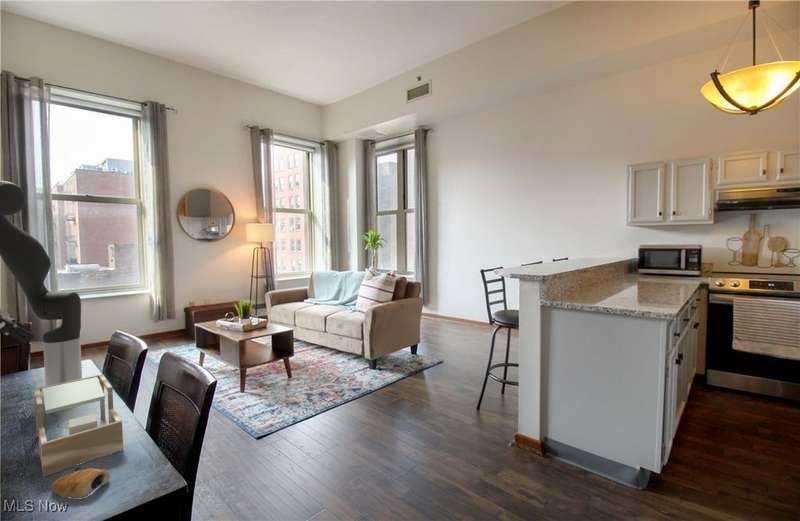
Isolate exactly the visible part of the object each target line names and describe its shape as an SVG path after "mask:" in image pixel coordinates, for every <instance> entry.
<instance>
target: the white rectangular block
mask: <svg viewBox="0 0 800 521" xmlns="http://www.w3.org/2000/svg"><path fill="white" fill-rule="evenodd" d="M98 422H99V421H98V414H97V413H96V412H95V413H93V414H89V415H85V416H80V417H75V418H72V419H69V420H68V435H72V434H75V433H79V432H82V431H85V430H89V429H92V428H96V427H99V425H98V424H99V423H98Z"/></svg>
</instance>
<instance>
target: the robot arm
mask: <svg viewBox="0 0 800 521" xmlns="http://www.w3.org/2000/svg"><path fill="white" fill-rule="evenodd" d="M25 205H26V194H25V192H24V190H23V189H22V188H21V187H20V186H19V185H18V184H15V183H13V182H10V181H6V180H0V259H2V261H3V263H4V264H5V265H6V267H7V269H8V270H9V271H10V272H11V273H12V275H13V277H14V278H15V279H16V281H17V282H18V284H19V285H20V287H21V289H22V290H23V293H24V295H25V296H26V299H27V301H28V303H29V305H30V307H31V310H32V311H33V313H34V315H35V316H36V317H37V318H38V319H41V320H42V321H45V320H46V321H54V320H55V321H58V320H61V324H60V326H58V327H56V328H53V329H51V330H48V331H46V332H44V333H43V334H42V346H43V347H42V349H43V363H44V365H43V367H44V383H45V386H49V385H53V384H58V383H63V382H68V381H73V380H77V379H82V378H83V371H82V370H83V369H82V367H83V366H82V350H81V349H82V347H81V328H82V301H81V296H80V295H79V293H78V292H76V291H55V292H54V291H53V292H52V291H49V290H48V289H47V287H46V285H45V280H46V278H47V276H48V274H49V271H50V269H51V264H52V263H51V262H52V261H51V259H50V256H49V255H48V253H47V252H46V250H45V248H44V247H43V245H42V243H41V242H40V241H39V240H37V239H36V238H35V237H34V236H32V235H31V234H29V233H28V232H26V231H24V230H23V229H22V228H20V227H19V226H17V225H16V224H15V223H13V222H12V221H11V220H9V218H8V217H7V216H12V215H16V214H17V213H19V212H20V211H22V210H23V208H24V207H25ZM0 335H6V336H10V337H12V338H14V339H15V340H17V341H19V342H20V343H23V344H27V343H29V342H30V341H31V340H32V339H33V338H34V337H35V336H34V334H33V333H32V329H31V328H30V327H28V326H27V325H25V324H23V323H22V322H19V321H17V319H16V318H15V317H14V316H13V315H11V314H10V313H9V312H7V311H5V310H4V309H2V308H1V307H0Z"/></svg>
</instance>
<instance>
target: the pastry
mask: <svg viewBox="0 0 800 521" xmlns="http://www.w3.org/2000/svg"><path fill="white" fill-rule="evenodd" d="M110 477H111V475H110V472H109V471H108V470H107V469H104V468H102V469H98V468H93V467H90V468H89V467H88V468H87V469H84V470H78V471H74V472H72V473H68V474H66V475H64V476H61V477H59V478H58V479H56V480H54V481H53V482H52V484H51V486H50V490H51V491H52V492H53V493H54V494H56V495H58V496H59V495H60V496H59V497H60V498H61V497H71V498H84V497H86V496H88V494H90V493H91V492H93V491H94V490H95V489H96V488H98V487H99V486H102V485H103V486H104V485H107V483H109V479H110ZM103 486H102V487H103Z"/></svg>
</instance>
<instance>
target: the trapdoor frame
mask: <svg viewBox="0 0 800 521" xmlns="http://www.w3.org/2000/svg"><path fill="white" fill-rule="evenodd" d="M94 377H98V380H99V382H100V385H101V388H102V390H103V393H104V394H105V390H106V392H107V406H108V407H107V408H108V410H107V411H108V423H107V424H103V425H100V426H99V425H98V427H96V428H92V429H89V430H85V431H82V432H79V433H75V434H72V435H69V434H68V435H65V436H62V437H61V436H60V437H58V438H55V439H51V440H47V435H46V430H45V422H44V421H45V420H44V419H45V418H44V401H43V397H42V394H41V392H42V388H47V387H52V386H57V385H61V384H66V383H71V382H75V381H80V380H85V379H90V378H94ZM33 391H34V407H35V408H34V410H35V425H36V427H35V429H36V437H37V438H38V442H39V446H38V447H39V458H40V464H41V465H40V466H41V470H42V471H41V472H42V477H43V478H45V477H48V476H51V475H54V474H56V472H57V473H59V472H61V471H60V470H62V471H64V470H63V469H65V470H67V469H66V468H68V469H70V468H69V467H71V468H73V467H72V466H74V467H76V466H75V465H77V464H80V463H83V462H86V461H89V460H92V461H94V460H93V459H95V460H97V459H96V458H98V459H101V458H104V457H107V456H109V454H110V455H112V454H111V453H113V454H115V453H114V452H116V453H118V452H117V451H119V452H121V451H120V450H122V451H124V435H123V431H124V430H123V420H122V419H121V417H120V416H119V414H118V413H117V412H116V410H115V408H114V395H113V394H114V393H113V392H114V391H113V386H112V384H111V383H110V382H109V380H108V379H107V378H106V377H105V375H104V374H97V375H93V376H87V377H84V378H83V377H82V379H77V380H73V381H68V382H63V383H58V384H53V385H49V386H40V387H36V388H33ZM105 400H106V399H105ZM105 400H101V401H99V406H100V407H99V408H100V420H104V419H106V408H105V407H106V406H105V405H106V404H105V403H106V401H105ZM103 456H104V457H103ZM100 457H101V458H100ZM89 462H90V461H89ZM86 463H87V462H86ZM83 464H84V463H83ZM80 465H81V464H80ZM77 466H78V465H77ZM58 471H59V472H58ZM53 473H54V474H53ZM50 474H51V475H50Z"/></svg>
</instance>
